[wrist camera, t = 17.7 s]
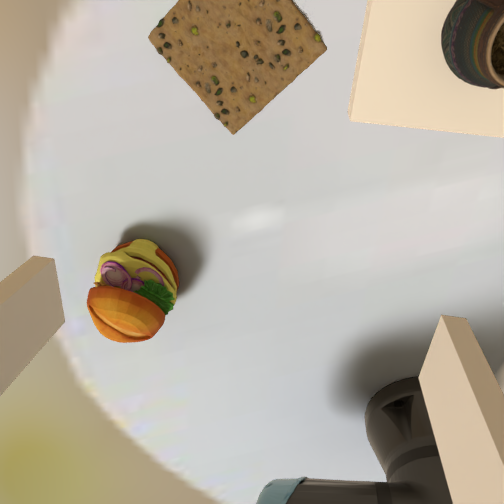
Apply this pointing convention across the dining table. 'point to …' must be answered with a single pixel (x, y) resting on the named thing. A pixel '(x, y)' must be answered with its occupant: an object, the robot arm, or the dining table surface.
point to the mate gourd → (475, 42)
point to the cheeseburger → (133, 291)
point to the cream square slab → (416, 74)
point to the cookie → (237, 52)
